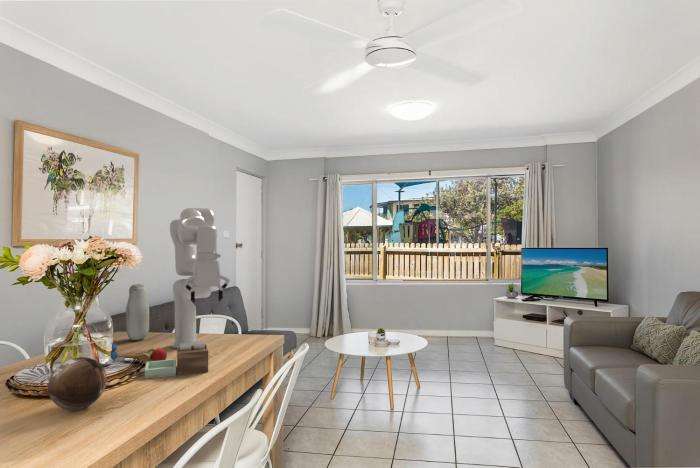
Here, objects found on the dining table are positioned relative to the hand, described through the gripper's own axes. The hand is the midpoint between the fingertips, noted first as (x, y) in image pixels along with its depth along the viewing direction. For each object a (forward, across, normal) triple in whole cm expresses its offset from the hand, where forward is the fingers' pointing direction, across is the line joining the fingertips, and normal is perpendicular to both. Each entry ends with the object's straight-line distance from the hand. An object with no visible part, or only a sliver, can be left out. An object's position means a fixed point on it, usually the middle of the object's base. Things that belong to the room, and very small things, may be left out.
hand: (206, 301), depth 173 cm
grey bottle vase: (+26, +31, -65) cm, 76 cm away
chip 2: (+20, +3, -3) cm, 21 cm away
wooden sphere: (+27, +38, +27) cm, 54 cm away
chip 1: (+20, +8, -2) cm, 22 cm away
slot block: (+26, +5, -3) cm, 27 cm away
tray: (+26, +16, -2) cm, 31 cm away
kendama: (+26, +24, -19) cm, 40 cm away
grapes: (+26, +39, -21) cm, 52 cm away
